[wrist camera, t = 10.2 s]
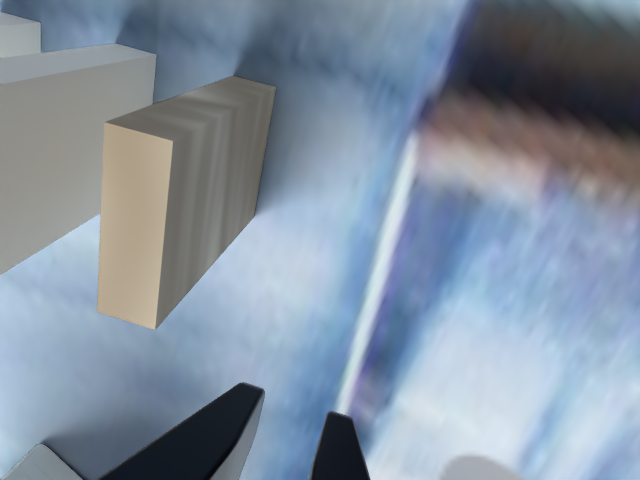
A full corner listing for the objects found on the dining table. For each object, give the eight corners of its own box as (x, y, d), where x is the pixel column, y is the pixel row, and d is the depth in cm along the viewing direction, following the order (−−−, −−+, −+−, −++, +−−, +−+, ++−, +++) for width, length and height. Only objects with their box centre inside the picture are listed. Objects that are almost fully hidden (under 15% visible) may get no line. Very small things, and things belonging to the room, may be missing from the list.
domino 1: (156, 54, 19) (-14, 86, 12) (145, 185, 21) (-5, 278, 14) (114, 43, 19) (-78, 68, 12) (107, 173, 22) (-60, 260, 14)
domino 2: (276, 87, 19) (172, 141, 12) (254, 217, 21) (155, 329, 14) (232, 75, 19) (104, 122, 12) (214, 205, 21) (97, 311, 14)
